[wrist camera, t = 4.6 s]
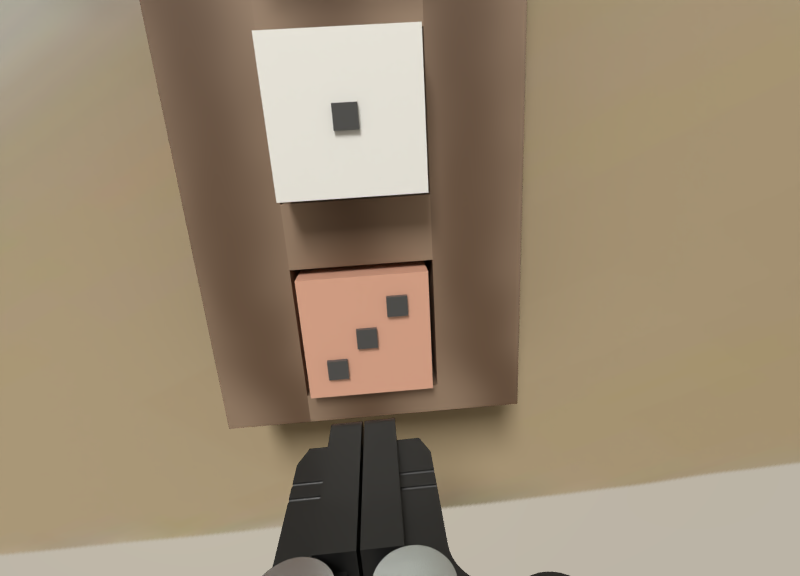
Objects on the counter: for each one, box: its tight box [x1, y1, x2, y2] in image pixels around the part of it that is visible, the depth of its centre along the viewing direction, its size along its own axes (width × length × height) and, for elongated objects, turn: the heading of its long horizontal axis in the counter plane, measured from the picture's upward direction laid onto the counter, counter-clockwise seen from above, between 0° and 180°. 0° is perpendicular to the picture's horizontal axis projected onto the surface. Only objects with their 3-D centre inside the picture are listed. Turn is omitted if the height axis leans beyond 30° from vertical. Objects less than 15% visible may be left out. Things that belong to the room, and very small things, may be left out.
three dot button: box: [295, 260, 433, 398], centre depth 21 cm, size 6×6×4 cm
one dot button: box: [252, 22, 428, 203], centre depth 17 cm, size 6×6×4 cm
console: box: [140, 0, 527, 429], centre depth 20 cm, size 14×27×5 cm, turn 4°
